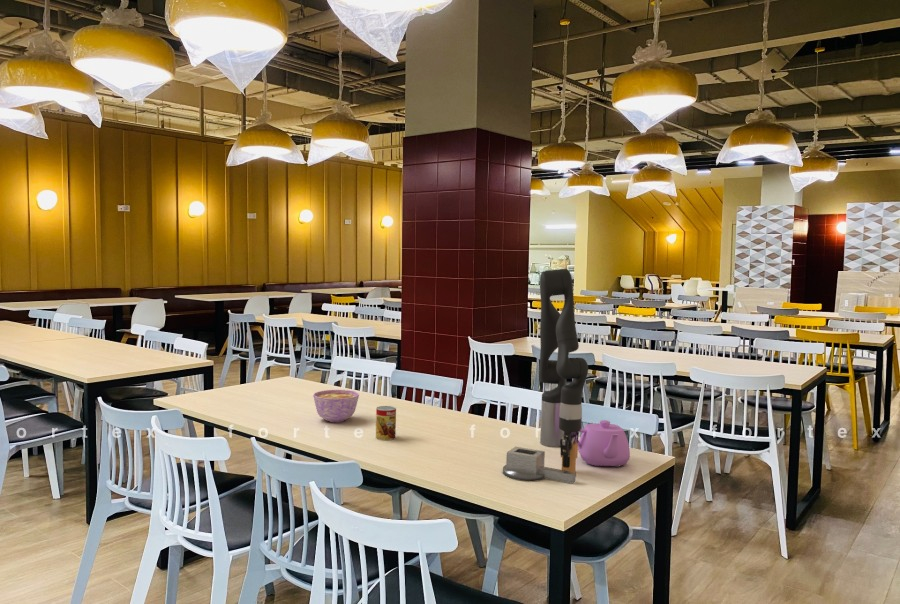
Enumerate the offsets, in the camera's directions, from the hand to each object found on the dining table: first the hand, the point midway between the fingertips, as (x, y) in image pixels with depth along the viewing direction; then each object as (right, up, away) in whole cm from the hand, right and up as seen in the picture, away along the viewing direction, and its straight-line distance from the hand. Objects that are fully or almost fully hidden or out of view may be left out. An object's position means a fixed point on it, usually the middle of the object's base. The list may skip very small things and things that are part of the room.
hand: (568, 464), depth 220 cm
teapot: (+15, -2, +12) cm, 19 cm away
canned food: (-67, +1, +37) cm, 76 cm away
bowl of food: (-91, +3, +63) cm, 111 cm away
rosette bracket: (-11, -2, -5) cm, 13 cm away
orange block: (0, -2, 0) cm, 2 cm away
